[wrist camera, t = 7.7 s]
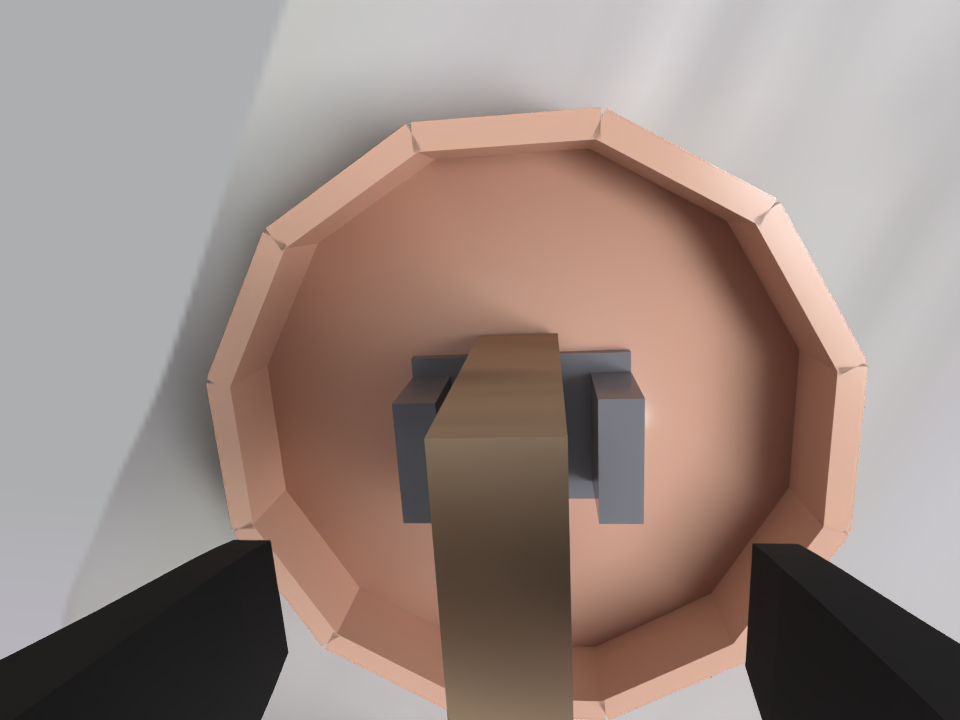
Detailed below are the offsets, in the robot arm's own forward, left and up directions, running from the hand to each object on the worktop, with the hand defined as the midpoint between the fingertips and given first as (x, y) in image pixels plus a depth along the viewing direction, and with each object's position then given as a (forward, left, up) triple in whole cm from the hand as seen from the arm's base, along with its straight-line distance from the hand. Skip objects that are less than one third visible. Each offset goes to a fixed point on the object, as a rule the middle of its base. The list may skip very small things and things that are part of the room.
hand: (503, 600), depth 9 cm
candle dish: (0, 0, -8) cm, 8 cm away
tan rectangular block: (0, 0, -7) cm, 7 cm away
